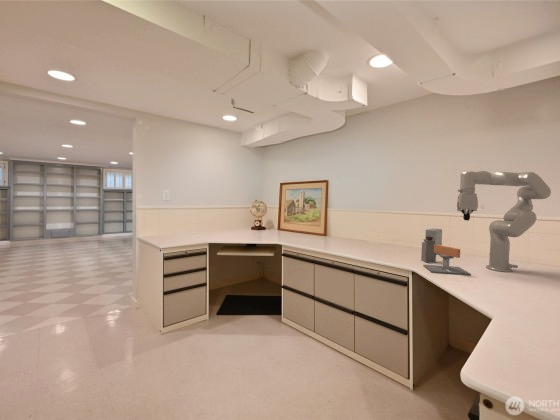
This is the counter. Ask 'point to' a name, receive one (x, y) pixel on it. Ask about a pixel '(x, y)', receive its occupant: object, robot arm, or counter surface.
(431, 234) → the hard drive box
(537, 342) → the counter surface
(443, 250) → the orange brown block
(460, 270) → the post board
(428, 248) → the perfume bottle
